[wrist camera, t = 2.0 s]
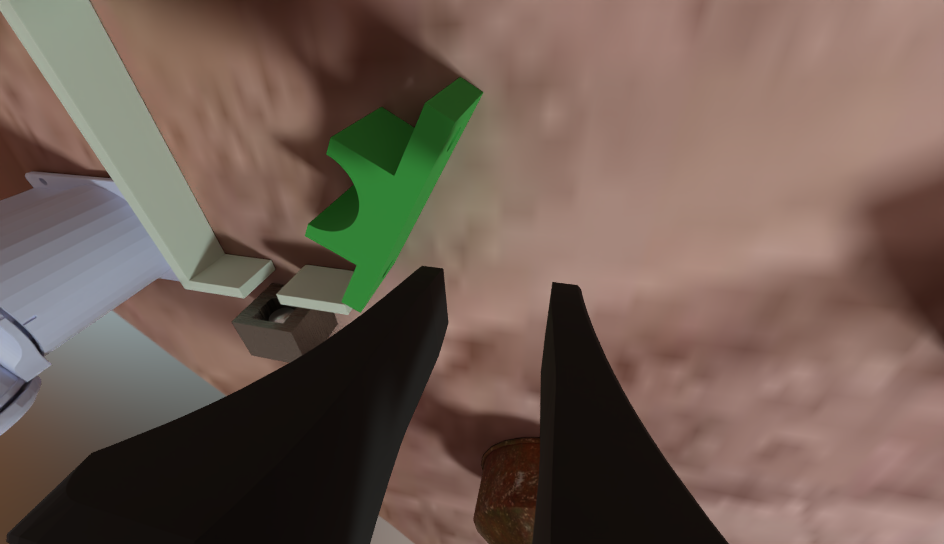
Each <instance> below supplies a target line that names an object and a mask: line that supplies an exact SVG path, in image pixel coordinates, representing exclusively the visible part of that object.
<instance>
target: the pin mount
mask: <svg viewBox="0 0 944 544" xmlns="http://www.w3.org/2000/svg"><path fill="white" fill-rule="evenodd" d="M284 286H285V285H280V284H273V283H272V284H271V285H270V286H269V287H268V288H266V289H265V290H264V291H263V292H262V293H261V294H260V295H259V296H258V297H257V298H256V299H255V300H254V301H253V302H252V303H251V304H250V305H249V306H248V307H247V308H246V309H245V310H243V311H242V312H241V313H240V314H239V315H238V316H237V317H236V318H235V319H234V320H233V321H232V324H233V325H234V327H235V329H236V330H237V332H238V334H239V335H240V337H241V339H242V340H243V342H244V344H245V345H246V347H247V349H248V350H249V352H250V353H251V355H253V356H258V357H263V358H268V359H273V360H278V361H283V362H289V363H290V362H292V361H294V360H295V359H297V358H299V357H300V356H302V355H304V354H305V353H307V352H308V351H310V350H312V349H313V348H315V347H316V346H318V345H320V344H321V343H323V342H324V341H326V340H327V338H328V337H329V335H330V334H331V333H332V331H333V330H334V329H335V327H336V326H337V324H338V323H337V321H336V318H335V315H334V313H333V312H327V311H321V310H314V309H308V308H302V307H295V306H289V305H283V304H280V301H279V299H278V297H277V295H276V294H277V293H278V292H279V291H280V290H281V289H282V288H283V287H284ZM285 307H289V308H292V309H293V310H294V311H293V313H292V314H291V315H290V316H289V317H288V318H287V319H286V320H285V322H284V323H283V324H282V323H276V322H270V321H269V317H270V315H271V314H272V313H273V312H274V311H276V310H278V309H281V308H285Z"/></svg>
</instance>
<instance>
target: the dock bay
mask: <svg viewBox="0 0 944 544" xmlns="http://www.w3.org/2000/svg"><path fill="white" fill-rule="evenodd" d="M0 11H1V12H2V14H3V15H4V17H5V18H6V20H7V21H8V23H9V24H10V26H11V27H12V29H13V30H14V32H15V33H16V35H17V36H18V38H19V39H20V41H21V42H22V44H23V45H24V47H25V48H26V50H27V51H28V53H29V55H30V56H31V58H32V59H33V61H34V62H35V64H36V65H37V67H38V68H39V70H40V71H41V73H42V74H43V76H44V77H45V79H46V80H47V82H48V83H49V85H50V86H51V88H52V89H53V91H54V92H55V94H56V95H57V97H58V98H59V100H60V101H61V103H62V104H63V106H64V107H65V109H66V110H67V112H68V113H69V115H70V116H71V118H72V119H73V121H74V122H75V124H76V125H77V127H78V128H79V130H80V131H81V133H82V134H83V136H84V137H85V139H86V140H87V142H88V143H89V145H90V146H91V148H92V149H93V151H94V152H95V154H96V156H97V157H98V159H99V160H100V162H101V163H102V165H103V166H104V168H105V169H106V171H107V172H108V174H109V175H110V177H111V178H112V180H113V181H114V183H115V184H116V186H117V187H118V189H119V190H120V192H121V193H122V195H123V196H124V198H125V199H126V201H127V202H128V204H129V205H130V207H131V208H132V210H133V211H134V213H135V214H136V216H137V217H138V219H139V220H140V222H141V223H142V225H143V226H144V228H145V229H146V231H147V232H148V234H149V235H150V237H151V238H152V240H153V241H154V243H155V244H156V246H157V247H158V249H159V250H160V252H161V253H162V255H163V256H164V258H165V260H166V261H167V263H168V264H169V266H170V267H171V269H172V270H173V272H174V273H175V275H176V276H177V278H178V279H179V281H180V282H181V284H182V285H183V287H184V288H185V289H188V290H195V291H201V292H207V293H213V294H220V295H226V296H232V297H239V298H245V297H246V296H247V295H249V294H250V293H251V292H252V291H253V290H254V289H255V288H256V287H257V286H258V285H259V284H260V283H262V282H263V281H264V280H265V279H266V278H267V277H268V276H269V275H270V274H271V273H272V272H273V271H275V267H274V265H273V263H272V261H271V260H267V259H259V258H252V257H244V256H236V255H229V254H225V253H224V251H223V250H222V248H221V246H220V244H219V242H218V240H217V238H216V236H215V235H214V233H213V231H212V229H211V227H210V225H209V223H208V222H207V220H206V218H205V216H204V214H203V212H202V210H201V208H200V207H199V205H198V203H197V201H196V199H195V197H194V195H193V193H192V192H191V190H190V188H189V186H188V184H187V182H186V180H185V179H184V177H183V175H182V173H181V171H180V169H179V167H178V165H177V164H176V162H175V160H174V158H173V156H172V154H171V152H170V151H169V149H168V147H167V145H166V143H165V141H164V139H163V137H162V136H161V134H160V132H159V130H158V128H157V126H156V124H155V123H154V121H153V119H152V117H151V115H150V113H149V111H148V109H147V108H146V106H145V104H144V102H143V100H142V98H141V96H140V95H139V93H138V91H137V89H136V87H135V85H134V83H133V81H132V80H131V78H130V76H129V74H128V72H127V70H126V68H125V66H124V65H123V63H122V61H121V59H120V57H119V55H118V53H117V52H116V50H115V48H114V46H113V44H112V42H111V40H110V38H109V37H108V35H107V33H106V31H105V29H104V27H103V25H102V24H101V22H100V20H99V18H98V16H97V14H96V12H95V10H94V9H93V7H92V5H91V3H90V1H89V0H0ZM353 273H354V271H350V270H343V269H335V268H327V267H320V266H312V265H305V266H304V267H303V268H302V269H301V270H300V271H299V272H298V273H297V274H296V275H295V276H294V277H293V278H292V279H291V280H290V281H289V282H288V283H287V284H286V285H285V286H284V287H283V288H282V289H281V290H280V291H279V292H278V293H277V294H276V295H277V297H278V299H279V301H280V304H283V305H289V306H295V307H302V308H308V309H314V310H321V311H327V312H333V313H339V314H346V315H348V314H349V313H350V311H351V310H352V309H353V308H351V307H349V306H347V305H346V304H344V303H342V302H341V301H342V299H343V296H344V294H345V292H346V289H347V287H348V285H349V282H350V280H351V277H352V275H353Z"/></svg>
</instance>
